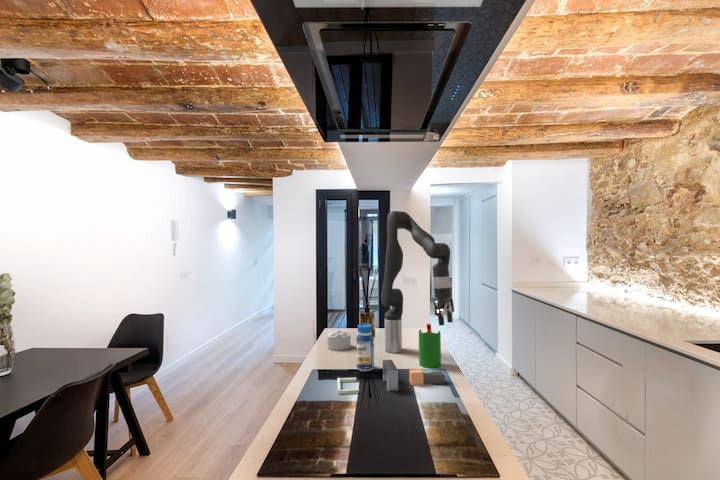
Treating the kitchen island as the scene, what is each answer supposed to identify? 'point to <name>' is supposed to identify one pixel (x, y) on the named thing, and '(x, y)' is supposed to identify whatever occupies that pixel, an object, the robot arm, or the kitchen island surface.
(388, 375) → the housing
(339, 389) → the light grey u-shaped piece
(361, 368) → the beverage bottle
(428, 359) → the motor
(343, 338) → the lumpy-topped squat cylinder
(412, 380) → the plug
